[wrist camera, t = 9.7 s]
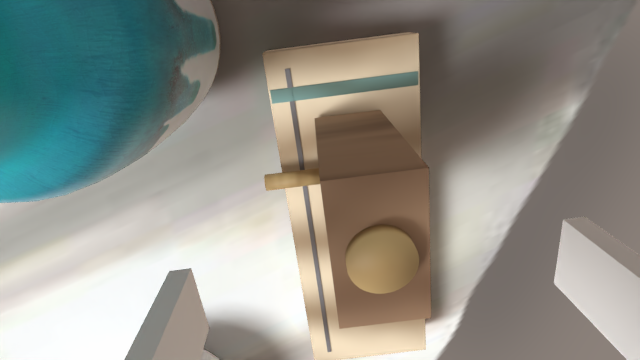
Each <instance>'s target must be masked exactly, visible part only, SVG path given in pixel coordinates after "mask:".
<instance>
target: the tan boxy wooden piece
mask: <svg viewBox="0 0 640 360" xmlns="http://www.w3.org/2000/svg"><path fill="white" fill-rule="evenodd" d="M314 119H315V131H316V142H317V154H318V165H319V168H315V169H307V170H299V171H291V172H283V173H276V174H268V175H265V177H264V179H265V187H266V190H267V191H269V190H277V189H285V188H293V187H301V186H309V185H317V184H320V186H321V193H322V201H323V209H324V216H325V224H326V231H327V239H328V246H329V254H330V262H331V269H332V277H333V284H334V292H335V299H336V307H337V315H338V322H339V329H343V328H351V327H360V326H368V325H377V324H385V323H393V322H402V321H410V320H418V319H427V318H431V275H430V208H429V167H428V166H427V165H426V164H425V163H424V161H423V160H422V159H421V158H420V157H419V155H418V154H417V153H416V152H415V151H414V149H413V148H412V147H411V146H410V145H409V143H408V142H407V141H406V140H405V139H404V138H403V136H402V135H401V134H400V133H399V132H398V130H397V129H396V128H395V127H394V126H393V124H392V123H391V122H390V121H389V120H388V118H387V117H386V116H385V115H384V114H383V112H382V111H381V110H375V111H367V112H359V113H351V114H343V115H335V116H328V117H320V118H314Z"/></svg>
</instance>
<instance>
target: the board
mask: <svg viewBox="0 0 640 360" xmlns="http://www.w3.org/2000/svg"><path fill="white" fill-rule="evenodd" d="M262 56H263V61H264V67H265V73H266V79H267V85H268V91H269V97H270V102H271V108H272V114H273V120H274V126H275V132H276V138H277V144H278V149H279V155H280V161H281V167H282V173H283V172H291V171H299V170H307V169H315V168H319V165H318V154H317V142H316V131H315V119H314V118H320V117H328V116H335V115H343V114H351V113H359V112H367V111H375V110H381V111H382V112H383V114H384V115H385V116H386V117H387V118H388V120H389V121H390V122H391V123H392V124H393V126H394V127H395V128H396V129H397V130H398V132H399V133H400V134H401V135H402V136H403V138H404V139H405V140H406V141H407V142H408V143H409V145H410V146H411V147H412V148H413V149H414V151H415V152H416V153H417V154H418V155H419V157H420V158H421V119H420V75H419V33H412V32H405V33H397V34H390V35H382V36H374V37H367V38H359V39H351V40H344V41H336V42H328V43H321V44H313V45H305V46H298V47H290V48H283V49H275V50H267V51H265V52H264V53H262ZM285 190H286V196H287V202H288V208H289V214H290V220H291V226H292V231H293V237H294V243H295V249H296V255H297V261H298V267H299V273H300V278H301V284H302V290H303V296H304V302H305V308H306V314H307V319H308V325H309V331H310V337H311V343H312V349H313V355H314V360H341V359H349V358H358V357H366V356H374V355H383V354H391V353H400V352H408V351H417V350H425V349H426V340H425V319H418V320H410V321H402V322H393V323H385V324H377V325H368V326H360V327H351V328H343V329H339V322H338V315H337V307H336V299H335V292H334V284H333V277H332V269H331V262H330V254H329V246H328V239H327V231H326V224H325V216H324V209H323V201H322V193H321V186H320V184H317V185H309V186H301V187H293V188H285Z"/></svg>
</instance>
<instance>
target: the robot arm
mask: <svg viewBox="0 0 640 360" xmlns="http://www.w3.org/2000/svg"><path fill="white" fill-rule="evenodd" d="M554 284H555V285H556V286H557V287H558V288H559V289H560V290H561V291H562V292H563V293H564V294H565V295H566V296H567V297H568V298H569V299H570V301H571V302H572V303H573V304H574V305H575V306H576V307H577V308H578V309H579V310H580V311H581V312H582V313H583V314H584V315H585V316H586V317H587V318H588V319H589V320H590V321H591V322H592V324H593V325H594V326H595V327H596V328H597V329H598V330H599V331H600V332H601V333H602V334H603V335H604V336H605V337H606V338H607V339H608V340H609V341H610V342H611V343H612V344H613V345H614V346H615V348H616V349H617V350H618V351H619V352H620V353H621V354H622V355H623V356H624V357H625V358H626V359H627V360H640V255H639V254H637V253H636V252H635V251H633V250H632V249H630V248H629V247H627V246H626V245H624V244H623V243H622V242H620V241H619V240H617V239H616V238H615V237H613V236H612V235H610V234H609V233H607V232H606V231H604V230H603V229H602V228H600V227H599V226H597V225H596V224H595V223H593V222H592V221H590V220H589V219H587V218H586V217H579V218H572V219H564V220H563V224H562V231H561V238H560V245H559V252H558V259H557V267H556V273H555V280H554ZM208 332H209V326H208V322H207V319H206V316H205V312H204V309H203V306H202V303H201V299H200V296H199V293H198V289H197V286H196V283H195V280H194V276H193V273H192V270H191V268H190V269H183V270H175V271H169V273H168V275H167V277H166V279H165V281H164V283H163V285H162V287H161V289H160V291H159V293H158V295H157V297H156V299H155V301H154V303H153V305H152V306H151V308H150V310H149V312H148V314H147V316H146V318H145V320H144V322H143V324H142V326H141V328H140V330H139V332H138V334H137V336H136V338H135V340H134V342H133V344H132V346H131V348H130V350H129V352H128V354H127V356H126V358H125V360H200V359H201V356H202V352H203V349H204V345H205V342H206V338H207V335H208Z"/></svg>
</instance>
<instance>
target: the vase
mask: <svg viewBox="0 0 640 360" xmlns="http://www.w3.org/2000/svg"><path fill="white" fill-rule="evenodd" d="M220 43H221V39H220V31H219V24H218V20H217V17H216V13H215V10H214V7H213V4H212V2H211V0H0V203H11V202H30V201H39V200H44V199H49V198H54V197H58V196H63V195H66V194H69V193H72V192H74V191H77V190H79V189H82V188H85V187H87V186H90V185H92V184H95V183H97V182H99V181H101V180H103V179H105V178H107V177H109V176H111V175H113V174H115V173H116V172H118V171H120V170H121V169H123V168H125V167H126V166H128V165H130V164H131V163H133V162H135V161H136V160H138V159H140V158H141V157H142V156H144V155H145V154H147V153H148V152H150V151H151V150H152V149H154V148H155V147H156V146H157V145H159V144H160V143H161V142H162V141H164V140H165V139H166V138H167V137H168V136H170V135H171V134H172V133H173V132H174V131H175V130H176V129H178V128H179V127H180V126H181V125H182V124H183V123H184V122H185V121H186V120H187V119H188V118H189V117H190V116H191V115H192V113H193V112H194V111H195V110H196V108H197V107H198V106H199V105H200V103H201V102H202V101H203V99H204V98H205V96H206V95H207V93H208V91H209V89H210V87H211V85H212V83H213V81H214V78H215V75H216V72H217V69H218V65H219V59H220Z"/></svg>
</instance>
